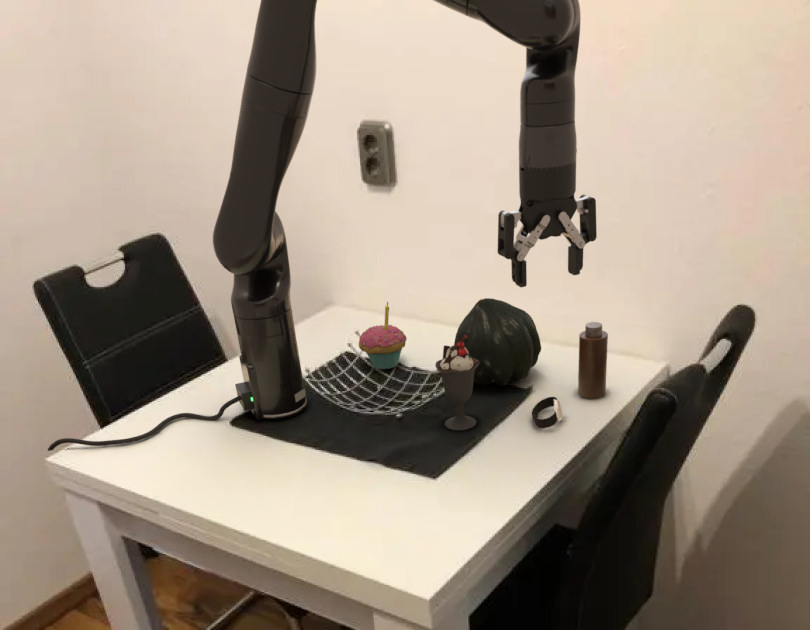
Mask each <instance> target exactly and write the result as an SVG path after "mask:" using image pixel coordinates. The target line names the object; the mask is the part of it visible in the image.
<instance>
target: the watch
mask: <svg viewBox="0 0 810 630" xmlns="http://www.w3.org/2000/svg"><path fill="white" fill-rule="evenodd" d="M551 407H553V408H554V413H552V415H550V416H549V417H546V418H538V417H539V414H540V413H542V411H544V410H546V409H548V408H551ZM531 416H532V420H533V422H534V425H535V427H537V428H539V429H549V428H551V427H553V426H555V425H556V424H557V422H561V421H562V420H563V409H562V405H561V402H560V400H559V399H558V398H557V397H555V396H549V397H548V396H547V397H545V398H543V399H541V400H540V401H538V402H537V403H536V404H534V407H533V408H532V410H531Z"/></svg>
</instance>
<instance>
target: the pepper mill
mask: <svg viewBox="0 0 810 630" xmlns="http://www.w3.org/2000/svg"><path fill="white" fill-rule="evenodd" d="M584 326H585V327H584V330H583V331H581V332H580V333H579V335H578V375H577V395H578V396H579V397H581V398H583V399H589V400H591V399H593V400H594V399H600V398H602V397H604V396H605V395H606V391H607V390H606V388H607V367H608V365H607V364H608V342H609V340H608V339H609V333H608V332H606V331H605V330H603V323H602V322H599V321H591V322H587V323H585V325H584Z"/></svg>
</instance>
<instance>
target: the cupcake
mask: <svg viewBox="0 0 810 630" xmlns="http://www.w3.org/2000/svg"><path fill="white" fill-rule="evenodd" d="M389 313H390V305H389V301H387V302H386V305H385V306H384V324H383V325H382V324H381V325H374V326H370V327H368V328H367V329H365V330H364V331H363V332H362V333H361V335H360V337H359V341H358V348H359V350H361V351H362V352H364V353H366V355H367V356H368V359H369V361H370V364H371V365H372V367H373V368H374V369H377V370H389V369H393V368H395V367H397V366H398V365H399V363H400V357H401V353H402V350H403V348H405V346H406V342H407V335H406V334H405V333H404V331H403V330H401V329H400V328H398V327H397V326H395V325H392V324H389V319H390V318H389V317H390V316H389V315H390V314H389Z"/></svg>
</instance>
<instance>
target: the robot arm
mask: <svg viewBox="0 0 810 630" xmlns="http://www.w3.org/2000/svg"><path fill="white" fill-rule="evenodd" d="M432 1H433V2H435V3H438V4H440V5H441V6H442V7H443V6H444V7H446V8H448V9H450V10H452V11H455V12H456V13H459V14H461V15H463V16H466V17H469V18H470V19H473V20H476V21H478V22H481V23H484V24H485V25H486V26H488V27H490V28H491V29H493V30H494V31H496V32H498V33H499V34H501V35H502V36H504V37H505V38H507V39H509V40H510V41H512V42H514V43H516V44H518V45H519V46H521V47H524V48H525V72H524V75H523V76H522V80H521V82H520V91H519V123H520V124H519V125H520V126H519V135H518V136H519V137H518V184H519V185H518V186H519V188H518V190H519V192H518V193H519V200H520V205H519V208H518V210H513V211H506V210H500V211H499V212H498V215H497V216H498V219H497V221H498V222H497V254H498V255H499V256H501V257H503V258H505V259H506V260H510V262H511V265H510V266H511V280H512V282H513V283H515V285H516V286H518V287H519V288H525V287H527V284H528V283H527V282H528V280H527V277H528V276H527V260H526V259H525V258H527V255H528V253H529V252H530V251H531V249H532V248H534V247H535V246H536V244H537V242H538V241H539V240H541V241H542V240H547V239H549V238H551V237H554V238H555V237H557V238H558V237H561V236H562V235H563V237H564V239H566V241H567V242H568V243H569V246H567V272H568V273H569V274H571V275H572V276H579V275H580V274H581V271H582V270H583V267H584V248H585V246H586V245H587V244H588V243H590V242H594V241H596V239H597V201H596V198H594V197H592V196H590V195H587V194H581V195H580V196H579V198H576V199H575V194H576V191H577V153H578V152H577V151H578V149H577V145H578V144H577V142H578V141H577V129H576V120H575V119H576V69H577V62H578V54H579V46H580V38H581V37H580V35H581V16H582V15H581V6H580V1H579V0H432ZM317 3H318V0H260V4H259V7H258V12H257V17H256V22H255V27H254V33H253V40H252V44H251V49H250V54H249V59H248V63H247V68H246V71H245V72H246V73H245V78H244V82H243V83H244V84H243V88H242V94H241V99H240V106H239V107H240V108H239V113H238V114H239V115H238V119H237V123H236V124H237V125H236V130H235V131H236V132H235V138H234V144H233V152H232V160H231V167H230V171H229V178H228V180H227V184H226V188H225V191H224V195H223V198H222V202H221V204H220V208H219V211H218V214H217V218H216V220H215V224H214V227H213V231H212V246H213V251H214V254H215V256H216V259H217V260H218V262H219V263H220V265H221V266H222V267H223V268H224V269H225V270H227V271H228V272H229V273H230V274H232V275H233V283H232V284H233V285H232V291H231V295H230V304H231V309H232V314H233V320H234V324H235V329H236V335H237V340H238V346H239V350H240V355H239V356H238V357H239V363H240V367H241V368H240V369H241V372H242V378H243V382H238V383H235V384H234V385H235V390H236V395H237V396H235V397H234V398H231V399H230V400H228V401H226V402H225V403H224V404H223V405H221V407H220V409H219V410H218V413H217V414H215V415H209V416H208V415H202V414H197V413H192V412H181V413H177V414H173V415H171V416H169V417H167V418H165V419H164V420H162V421H161V422H160V423H158V424H157V425H156V426H155V427H153V428H152V429H151V430H149V431H147V432H145V433H143V434H139V435H137V436H132V437H127V438H121V439H109V440H98V441H97V440H96V441H95V440H85V439H79V438H72V437H65V438H59V439H57V440H55V441H54V442H52V443H51V444H50V445H49V446H48V448H47V452H48V451H49V452H50V451H53V450H55V449H56V448H57V447H58V446H60V445H63V444H77V445H84V446H90V447H104V446H115V445H124V444H129V443H135V442H139V441H143V440H145V439H147V438H149V437H151V436H153V435H154V434H156V433H157V432H159V431H160V430H161V429H163V428H164V427H165V426H166V425H167V424H169V423H171V422H173V421H176V420H178V419H183V418H189V419H190V418H191V419H195V420H200V421H209V422H210V421H217V420H219V419H221V418H222V416H223V415H224V413H225V410H227V409H228V408H229V407H231V406H232V405H234V404H236V403H239V404H240V406H241V407H242V409H243V411H244V412H248V411H251V414H252V415H253V416H254V418H255V420H256V421H257V422H260V421H278V420H284V419H288V418H292V417H295V416H297V415H299V414H301V413H302V412H303V411H305V410H306V409H307V407H308V400H307V399H308V398H307V394H306V388H305V385H304V378H303V371H302V366H301V359H300V354H299V347H298V340H297V334H296V328H295V321H294V320H295V319H294V315H293V314H294V313H293V309H292V301H291V288H292V276H291V267H290V259H289V250H288V243H287V236H286V232H285V227H284V224H283V222H282V219H281V218H280V216H279V214H278V213H277V211H276V208H277V203H278V199H279V193H280V190H281V186H282V184H283V181H284V178H285V176H286V174H287V172H288V169H289V167H290V165H291V162H292V160H293V158H294V155H295V153H296V151H297V148H298V146H299V143H300V142H301V138H302V135H303V133H304V130H305V127H306V123H307V120H308V117H309V113H310V107H311V103H312V100H313V99H312V98H313V94H314V90H315V85H316V79H317V43H316V11H317ZM576 212H577V213H578V214H579V229H578V228H577V227H576V226H575V224H574V223H573V221H572V219H573V217H574V215H575V214H576ZM518 222H520V223H521V224H522V225H521V227H520V229H519V230H518V232H517V234H516V236H515V229H516V228H517V227H518Z"/></svg>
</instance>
